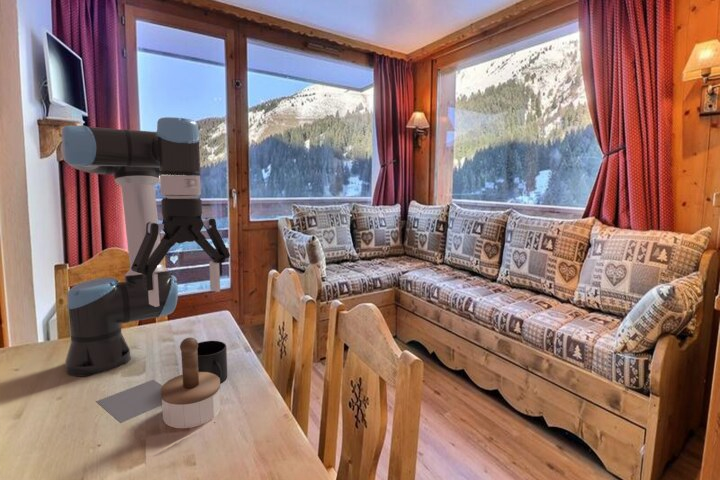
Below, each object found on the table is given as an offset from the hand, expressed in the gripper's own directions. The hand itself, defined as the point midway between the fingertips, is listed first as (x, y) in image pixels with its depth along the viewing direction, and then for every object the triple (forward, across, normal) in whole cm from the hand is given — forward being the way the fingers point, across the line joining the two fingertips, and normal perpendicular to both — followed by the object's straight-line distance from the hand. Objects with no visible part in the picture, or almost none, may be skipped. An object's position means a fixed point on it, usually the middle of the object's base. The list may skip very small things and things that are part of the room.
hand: (186, 297), depth 85 cm
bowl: (+27, 0, 0) cm, 27 cm away
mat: (+27, -5, +14) cm, 31 cm away
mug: (+27, +10, +9) cm, 30 cm away
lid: (+21, 0, 0) cm, 21 cm away
